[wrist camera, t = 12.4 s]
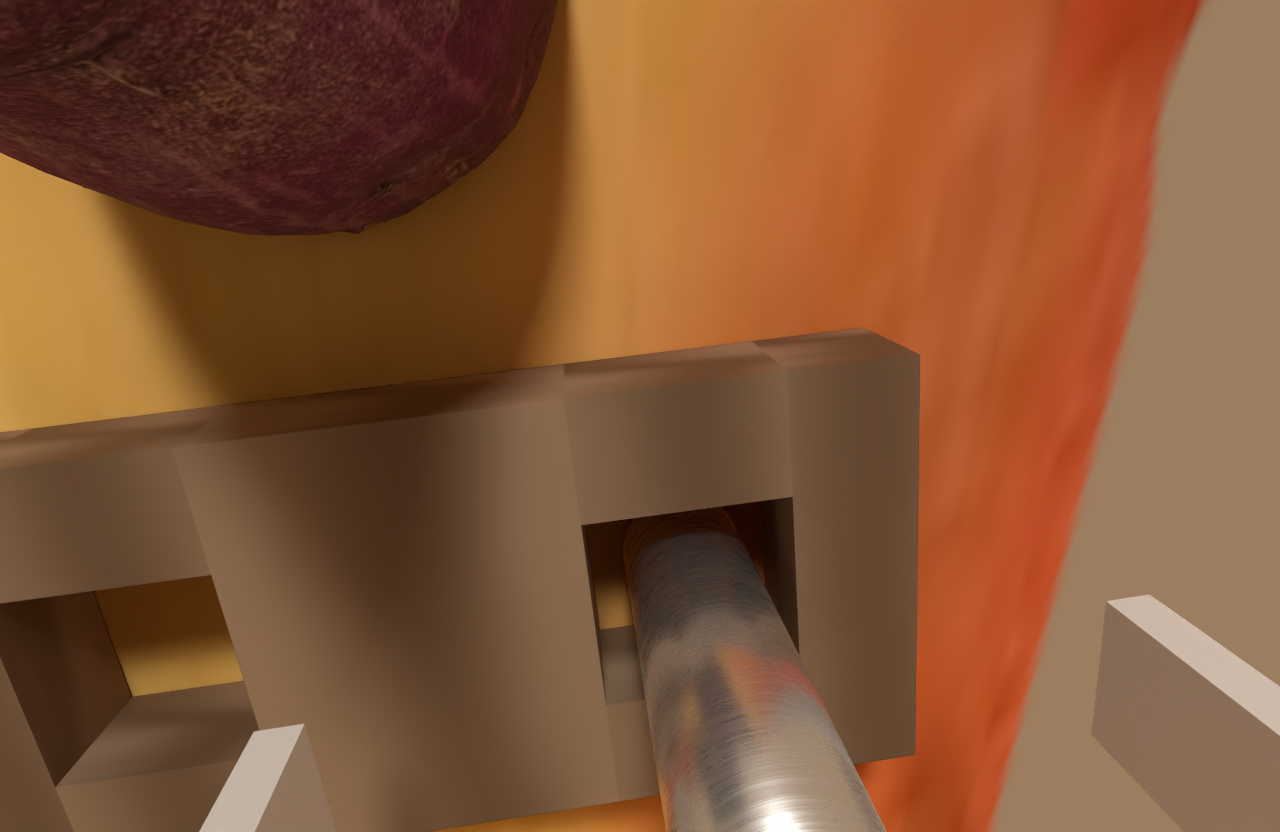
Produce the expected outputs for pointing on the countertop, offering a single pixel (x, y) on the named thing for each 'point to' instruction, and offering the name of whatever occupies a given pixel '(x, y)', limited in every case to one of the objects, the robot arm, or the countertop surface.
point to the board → (444, 578)
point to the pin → (730, 690)
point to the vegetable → (266, 102)
